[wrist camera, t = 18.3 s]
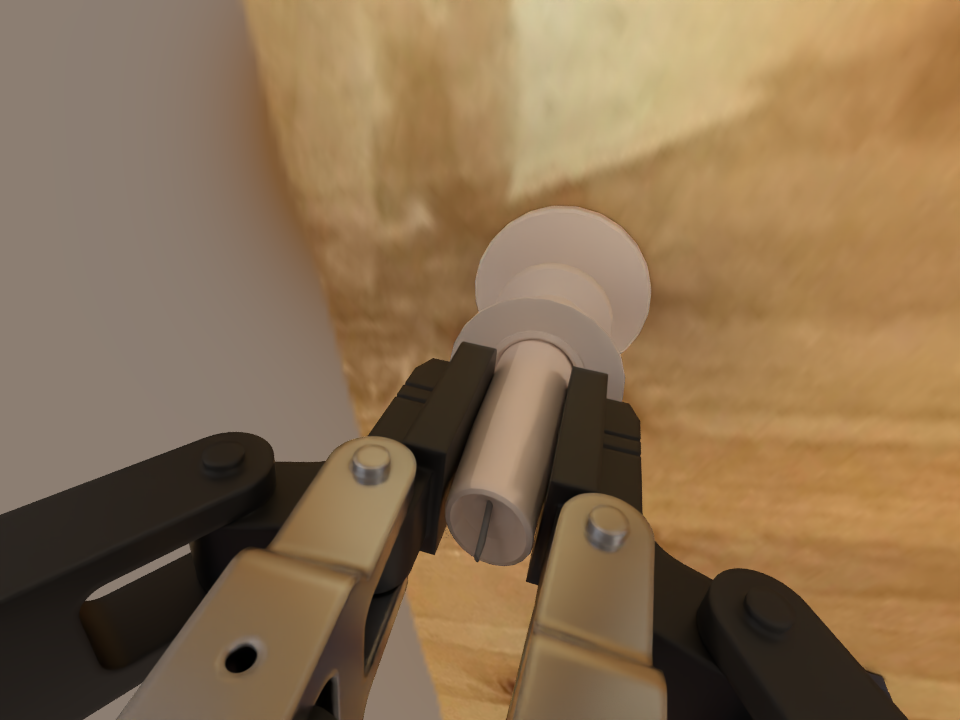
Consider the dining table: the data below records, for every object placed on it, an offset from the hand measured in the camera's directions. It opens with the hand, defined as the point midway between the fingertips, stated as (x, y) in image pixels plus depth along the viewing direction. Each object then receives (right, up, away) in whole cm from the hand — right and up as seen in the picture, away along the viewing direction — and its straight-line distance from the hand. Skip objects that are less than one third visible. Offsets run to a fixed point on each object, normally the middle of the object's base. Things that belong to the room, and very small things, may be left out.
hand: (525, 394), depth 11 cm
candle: (+2, +3, +5) cm, 6 cm away
